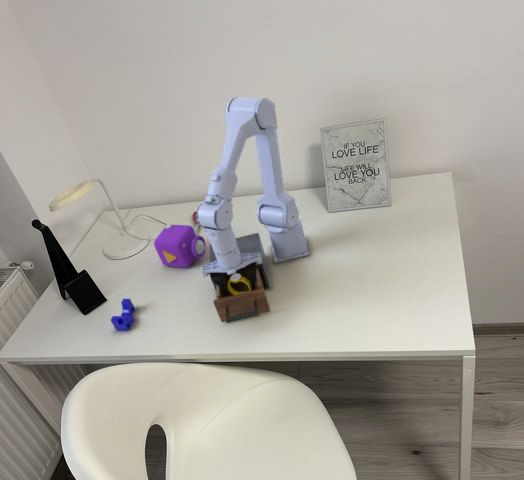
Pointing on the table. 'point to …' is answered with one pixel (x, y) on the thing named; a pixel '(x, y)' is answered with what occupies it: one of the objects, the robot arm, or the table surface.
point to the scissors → (195, 221)
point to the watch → (235, 279)
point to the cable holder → (124, 316)
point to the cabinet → (249, 246)
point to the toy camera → (179, 245)
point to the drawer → (242, 299)
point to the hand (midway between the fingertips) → (240, 289)
